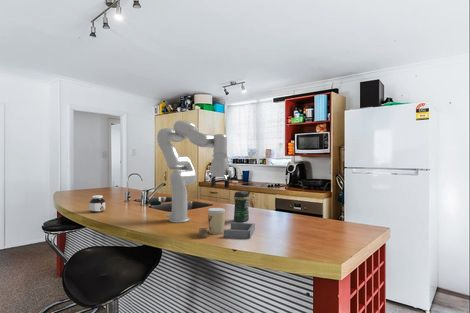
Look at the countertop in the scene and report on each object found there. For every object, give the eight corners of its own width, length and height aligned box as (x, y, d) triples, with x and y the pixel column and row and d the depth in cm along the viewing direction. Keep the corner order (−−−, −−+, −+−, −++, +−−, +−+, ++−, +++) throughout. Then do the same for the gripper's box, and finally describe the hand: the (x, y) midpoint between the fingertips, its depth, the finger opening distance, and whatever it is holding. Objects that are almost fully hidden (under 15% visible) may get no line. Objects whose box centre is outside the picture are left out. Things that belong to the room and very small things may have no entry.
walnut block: (199, 238, 134) (199, 230, 134) (199, 236, 138) (199, 228, 138) (207, 238, 134) (207, 229, 134) (207, 235, 138) (207, 227, 138)
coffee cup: (207, 229, 149) (207, 207, 149) (224, 229, 150) (224, 207, 150) (207, 234, 140) (207, 211, 140) (225, 234, 141) (225, 210, 141)
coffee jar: (242, 223, 166) (242, 192, 166) (231, 221, 170) (232, 191, 170) (251, 220, 174) (251, 190, 174) (240, 218, 178) (240, 189, 178)
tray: (223, 236, 136) (223, 229, 136) (231, 228, 152) (231, 222, 152) (250, 238, 133) (250, 231, 133) (254, 230, 149) (254, 223, 149)
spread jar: (93, 213, 193) (93, 197, 193) (84, 212, 200) (84, 195, 200) (109, 211, 203) (109, 195, 204) (100, 209, 210) (100, 194, 210)
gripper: (204, 156, 156) (203, 186, 155) (228, 156, 145) (228, 188, 145) (212, 156, 162) (212, 185, 161) (236, 156, 151) (236, 187, 151)
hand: (220, 187), depth 153 cm, fingers open, 9 cm apart
